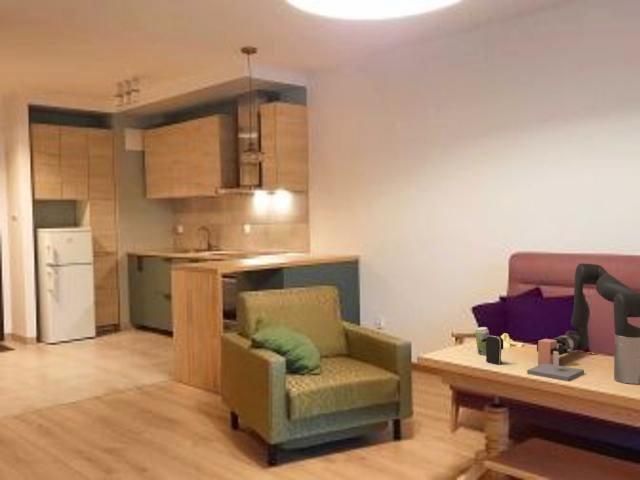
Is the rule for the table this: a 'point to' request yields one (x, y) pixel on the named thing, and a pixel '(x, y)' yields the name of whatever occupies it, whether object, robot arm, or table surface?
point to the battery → (494, 349)
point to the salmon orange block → (546, 351)
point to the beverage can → (481, 339)
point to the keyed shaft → (555, 361)
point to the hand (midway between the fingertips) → (544, 351)
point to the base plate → (555, 372)
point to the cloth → (509, 342)
